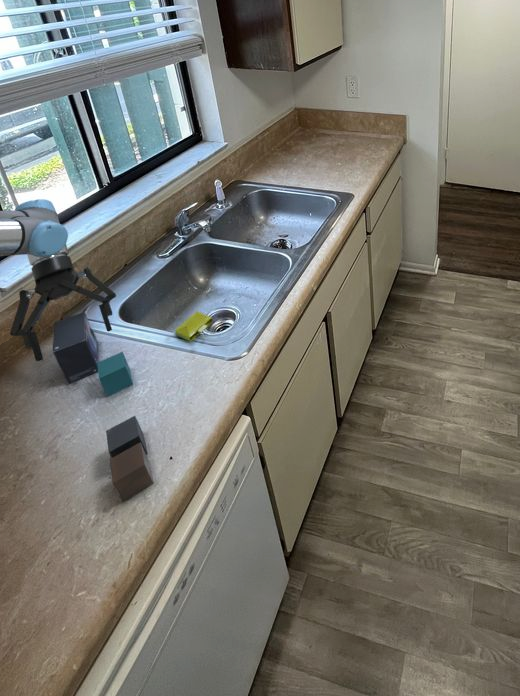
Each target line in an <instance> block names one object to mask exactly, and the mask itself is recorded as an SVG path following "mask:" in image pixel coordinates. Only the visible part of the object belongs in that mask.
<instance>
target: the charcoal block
mask: <svg viewBox="0 0 520 696" xmlns="http://www.w3.org/2000/svg"><path fill="white" fill-rule="evenodd" d="M140 425H141V424H140V423H139V421H138V419H137V417H136V415H133V416H131V417H129V418H127V419H126V420H124V421H122V422H120V423H118V424H116V425H114V426H112V427H110V428H109V429H107V430H106V431H105V433H106V435H105V436H106V442H107V450H108V454H109V456H110V459H111V458H113V457H115V456H117V455H118V454H120V453H122V452H124V451H126V450H127V449H129V448H131V447H133V446H135V445H136V444H138V443H141V445H142V447H143V449H144V451H145V453H146V455H147V456H148V450H147V444H146V439H145V434H144V432H143V430H142V427H141V426H140Z"/></svg>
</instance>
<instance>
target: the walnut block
mask: <svg viewBox="0 0 520 696" xmlns="http://www.w3.org/2000/svg"><path fill="white" fill-rule="evenodd" d="M109 465H110V472H111V480H112V485H113V488H114V489H115V490H116V492H117V494H118V496H119V498H120V500H121V501H122V503H125V502H126V501H128V500H130V499H131V498H133V497H135V496H136V495H138V494H139V493H141V492H143V491H144V490H146V489H148V488H149V487H150V486H153V485H154V477H153V473H152V469H151V463H150V460H149V458H148V454H147V455H146V453H145V451H144V449H143V447H142V445H141V443H138V444H136V445H135V446H133V447H131V448H129V449H127V450H126V451H124V452H122V453H120V454H118V455H117V456H115V457H113V458H111V457H110V459H109Z"/></svg>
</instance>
